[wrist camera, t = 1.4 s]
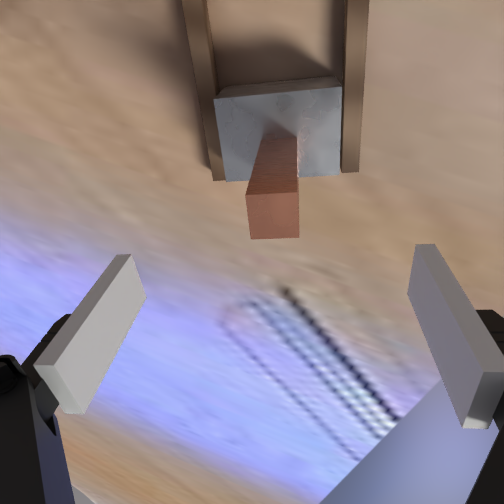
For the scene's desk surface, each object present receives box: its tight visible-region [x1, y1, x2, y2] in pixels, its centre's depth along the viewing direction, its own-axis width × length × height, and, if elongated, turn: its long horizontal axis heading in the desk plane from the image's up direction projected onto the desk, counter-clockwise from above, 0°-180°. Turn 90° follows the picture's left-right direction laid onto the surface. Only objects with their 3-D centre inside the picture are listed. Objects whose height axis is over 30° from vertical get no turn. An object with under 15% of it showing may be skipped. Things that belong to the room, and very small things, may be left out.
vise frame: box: [181, 0, 369, 181], centre depth 26 cm, size 28×15×9 cm, turn 6°
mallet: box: [213, 76, 342, 239], centre depth 27 cm, size 7×10×17 cm
